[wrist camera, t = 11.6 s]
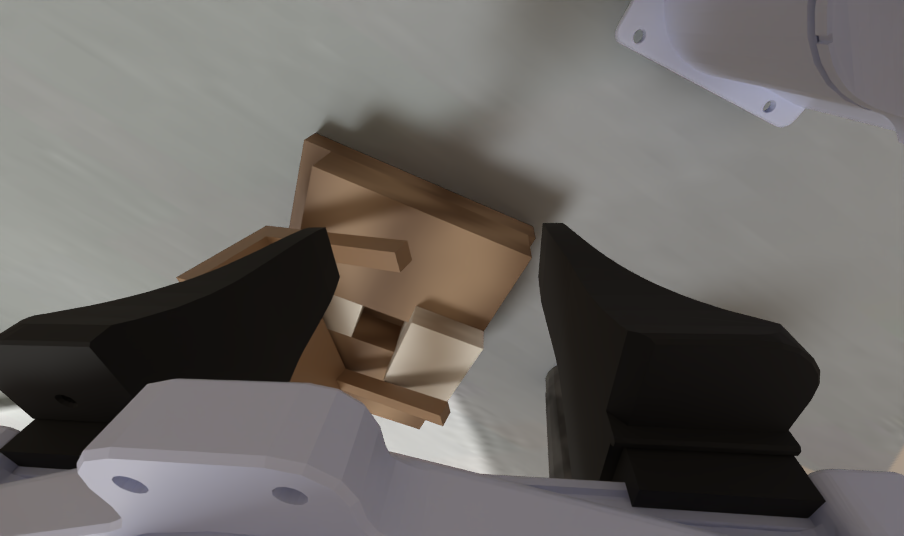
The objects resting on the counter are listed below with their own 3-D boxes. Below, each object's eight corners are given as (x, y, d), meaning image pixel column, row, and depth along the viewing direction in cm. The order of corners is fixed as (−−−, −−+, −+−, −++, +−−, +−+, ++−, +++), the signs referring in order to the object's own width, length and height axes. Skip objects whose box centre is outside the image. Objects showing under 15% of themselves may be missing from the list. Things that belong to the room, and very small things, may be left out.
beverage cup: (638, 364, 28) (845, 838, 12) (591, 415, 32) (696, 823, 16) (552, 338, 28) (643, 802, 11) (515, 394, 32) (541, 796, 15)
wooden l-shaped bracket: (407, 240, 16) (329, 314, 12) (450, 412, 22) (407, 493, 18) (266, 225, 20) (176, 277, 16) (337, 374, 26) (284, 434, 23)
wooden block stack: (533, 226, 23) (543, 276, 18) (431, 389, 32) (422, 449, 28) (315, 133, 21) (265, 162, 16) (277, 336, 30) (239, 391, 26)
